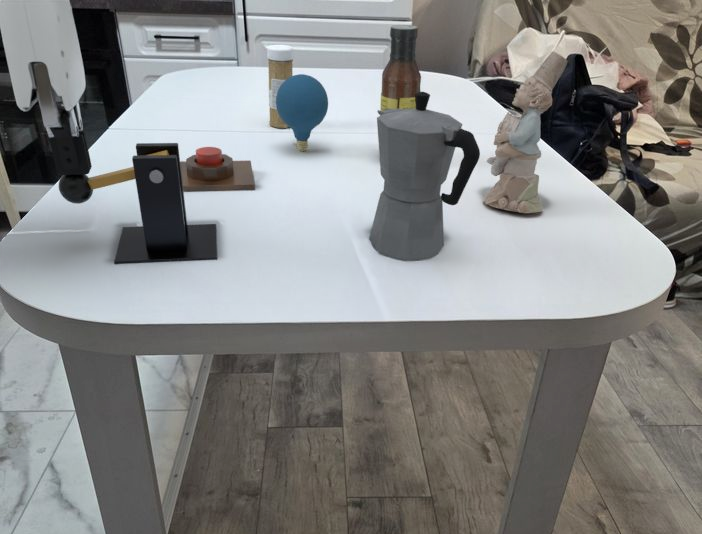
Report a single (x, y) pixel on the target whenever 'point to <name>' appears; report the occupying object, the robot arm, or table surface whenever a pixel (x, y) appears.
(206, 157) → the lamp button
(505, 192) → the figurine
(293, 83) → the light bulb
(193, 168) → the button block
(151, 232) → the lamp switch
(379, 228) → the coffeepot
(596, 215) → the table surface
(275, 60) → the sprinkles bottle
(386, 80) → the sauce bottle
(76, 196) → the switch lever
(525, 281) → the table surface
